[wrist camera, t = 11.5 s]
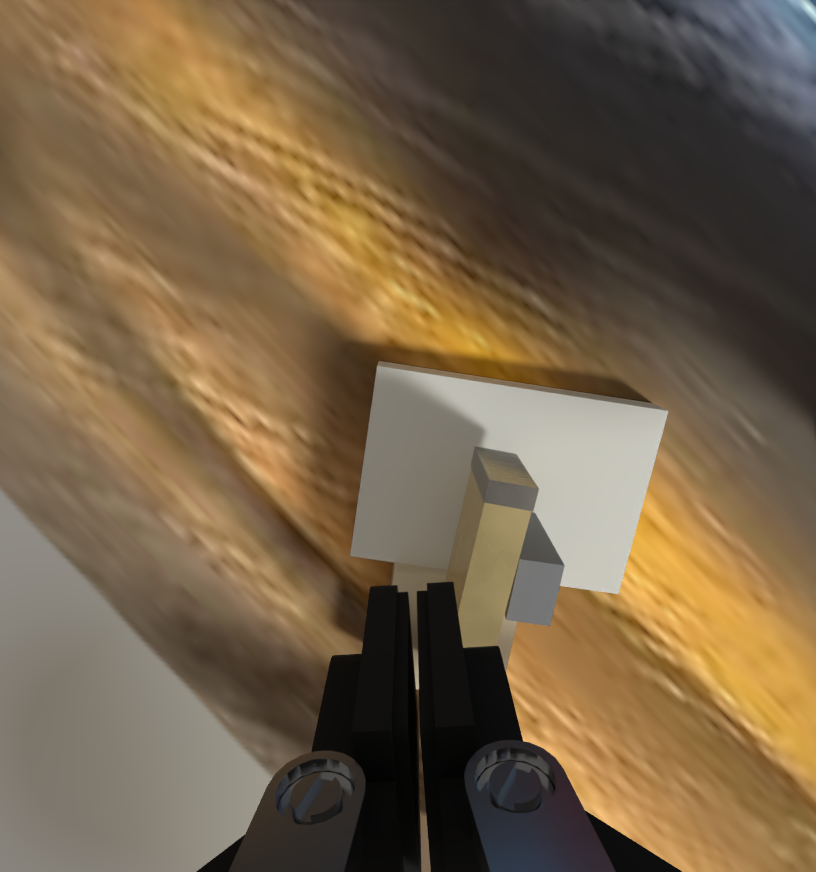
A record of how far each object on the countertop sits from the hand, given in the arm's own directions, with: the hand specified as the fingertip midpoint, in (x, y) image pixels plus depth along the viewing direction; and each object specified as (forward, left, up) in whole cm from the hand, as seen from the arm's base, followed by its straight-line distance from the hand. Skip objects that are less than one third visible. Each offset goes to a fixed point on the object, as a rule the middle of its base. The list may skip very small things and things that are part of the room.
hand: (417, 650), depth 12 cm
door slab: (+3, +5, -21) cm, 22 cm away
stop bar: (+7, +4, -18) cm, 19 cm away
